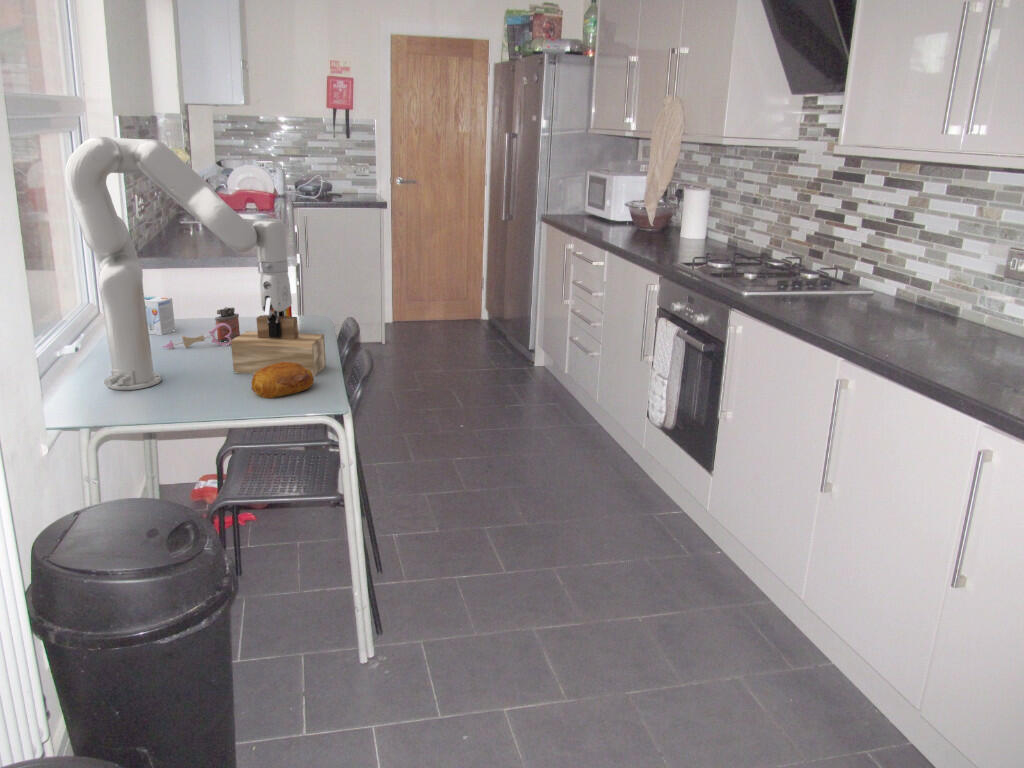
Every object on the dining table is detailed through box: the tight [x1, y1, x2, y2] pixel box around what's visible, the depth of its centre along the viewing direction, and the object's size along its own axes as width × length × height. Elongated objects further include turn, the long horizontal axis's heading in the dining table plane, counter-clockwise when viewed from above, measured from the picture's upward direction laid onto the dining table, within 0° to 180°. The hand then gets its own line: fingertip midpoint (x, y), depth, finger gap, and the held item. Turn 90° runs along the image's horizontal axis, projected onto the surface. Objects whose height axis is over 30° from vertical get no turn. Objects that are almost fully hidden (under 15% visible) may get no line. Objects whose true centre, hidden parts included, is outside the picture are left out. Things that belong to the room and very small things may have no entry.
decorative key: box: [162, 323, 231, 349], centre depth 242 cm, size 7×1×20 cm
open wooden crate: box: [230, 338, 327, 378], centre depth 220 cm, size 10×22×8 cm, turn 84°
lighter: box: [214, 307, 241, 343], centre depth 249 cm, size 8×3×10 cm, turn 149°
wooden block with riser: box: [230, 315, 325, 348], centre depth 218 cm, size 10×22×8 cm, turn 84°
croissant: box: [251, 362, 314, 399], centre depth 205 cm, size 14×16×8 cm
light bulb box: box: [144, 295, 176, 336], centre depth 257 cm, size 11×7×11 cm, turn 73°
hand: (278, 334), depth 219 cm, fingers closed on wooden block with riser, 3 cm apart
